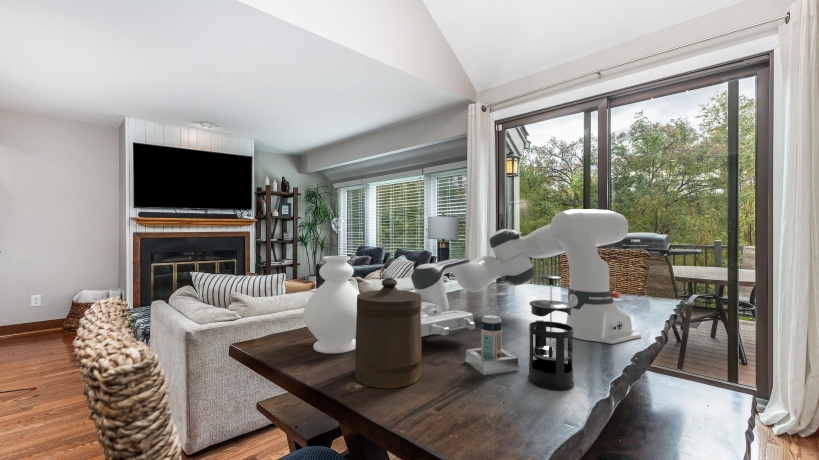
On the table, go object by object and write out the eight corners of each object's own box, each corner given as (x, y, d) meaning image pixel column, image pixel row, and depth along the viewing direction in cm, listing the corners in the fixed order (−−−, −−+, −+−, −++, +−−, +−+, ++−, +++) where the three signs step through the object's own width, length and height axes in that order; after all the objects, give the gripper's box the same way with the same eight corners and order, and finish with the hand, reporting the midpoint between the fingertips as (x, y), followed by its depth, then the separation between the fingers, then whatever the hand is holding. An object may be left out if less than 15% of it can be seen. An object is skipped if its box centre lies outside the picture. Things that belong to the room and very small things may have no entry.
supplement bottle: (499, 362, 92) (500, 314, 91) (502, 370, 87) (503, 319, 87) (480, 362, 92) (480, 313, 92) (482, 369, 87) (482, 318, 87)
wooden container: (425, 365, 90) (425, 274, 90) (415, 392, 75) (415, 283, 75) (366, 361, 92) (366, 273, 92) (345, 386, 78) (345, 281, 78)
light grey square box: (497, 357, 95) (497, 346, 95) (518, 370, 86) (518, 357, 86) (465, 361, 92) (466, 349, 92) (483, 375, 84) (483, 362, 84)
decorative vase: (377, 351, 100) (377, 258, 100) (310, 361, 92) (310, 260, 92) (357, 333, 116) (357, 253, 116) (298, 341, 108) (298, 255, 108)
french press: (584, 391, 76) (585, 279, 75) (539, 393, 75) (540, 279, 75) (557, 369, 87) (558, 272, 87) (518, 370, 87) (519, 272, 86)
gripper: (454, 323, 115) (487, 334, 104) (399, 334, 104) (430, 347, 92) (454, 303, 115) (487, 311, 104) (399, 312, 104) (430, 322, 92)
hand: (460, 328), depth 98 cm, fingers open, 8 cm apart
